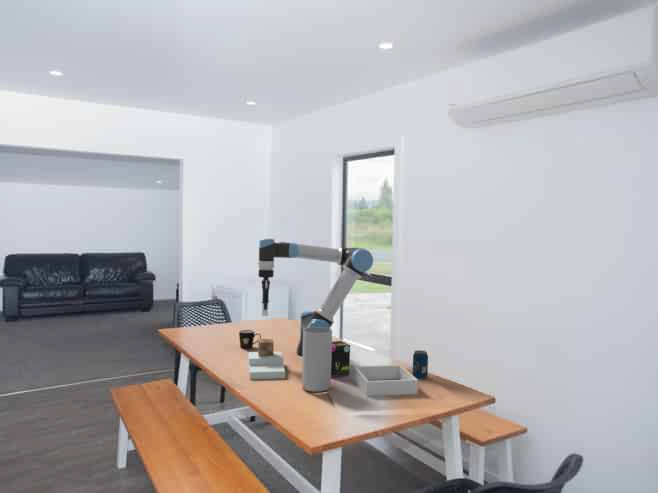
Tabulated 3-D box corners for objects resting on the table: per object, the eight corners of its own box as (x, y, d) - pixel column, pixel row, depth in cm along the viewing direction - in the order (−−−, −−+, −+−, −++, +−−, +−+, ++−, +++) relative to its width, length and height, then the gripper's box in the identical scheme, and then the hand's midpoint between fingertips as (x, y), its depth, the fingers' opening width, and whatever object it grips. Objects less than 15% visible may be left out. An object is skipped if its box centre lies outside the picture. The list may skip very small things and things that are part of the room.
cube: (272, 352, 238) (272, 338, 238) (273, 356, 231) (273, 342, 231) (257, 353, 237) (258, 339, 236) (258, 357, 230) (258, 342, 230)
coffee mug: (235, 349, 267) (235, 331, 267) (243, 346, 275) (244, 329, 275) (253, 352, 263) (254, 334, 263) (261, 348, 271) (262, 331, 271)
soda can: (409, 375, 228) (410, 350, 228) (422, 374, 231) (423, 349, 230) (417, 380, 222) (418, 354, 221) (430, 378, 224) (431, 353, 224)
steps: (280, 364, 242) (280, 351, 241) (285, 378, 219) (285, 364, 219) (248, 364, 239) (248, 352, 238) (249, 379, 216) (249, 365, 216)
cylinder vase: (320, 394, 199) (322, 334, 198) (295, 388, 206) (297, 330, 205) (336, 386, 210) (337, 329, 209) (312, 381, 216) (313, 325, 215)
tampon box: (329, 378, 221) (330, 346, 220) (320, 372, 229) (321, 342, 229) (349, 375, 226) (350, 344, 225) (340, 370, 234) (341, 340, 234)
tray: (399, 377, 224) (400, 365, 224) (417, 394, 203) (418, 380, 202) (353, 379, 220) (353, 366, 220) (366, 396, 198) (366, 381, 198)
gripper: (258, 268, 247) (256, 313, 248) (259, 270, 235) (258, 318, 235) (272, 268, 249) (271, 313, 250) (274, 270, 236) (273, 318, 237)
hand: (264, 315), depth 243 cm, fingers closed
